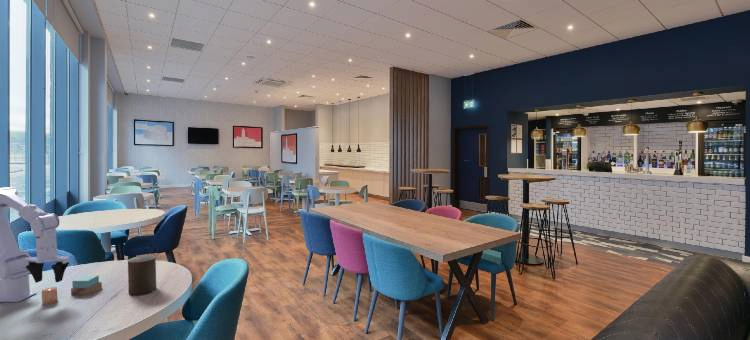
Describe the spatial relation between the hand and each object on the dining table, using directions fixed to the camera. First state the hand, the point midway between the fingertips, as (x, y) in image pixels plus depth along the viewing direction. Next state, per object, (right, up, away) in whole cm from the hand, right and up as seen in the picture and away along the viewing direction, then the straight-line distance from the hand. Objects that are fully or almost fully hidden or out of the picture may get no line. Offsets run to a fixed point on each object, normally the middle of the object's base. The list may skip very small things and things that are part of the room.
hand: (48, 281), depth 137 cm
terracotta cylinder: (0, -8, +1) cm, 8 cm away
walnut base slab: (+6, -8, +11) cm, 15 cm away
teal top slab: (+6, -5, +10) cm, 13 cm away
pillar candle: (+29, -8, +11) cm, 32 cm away
